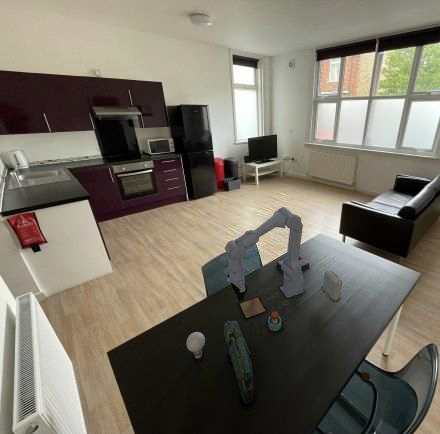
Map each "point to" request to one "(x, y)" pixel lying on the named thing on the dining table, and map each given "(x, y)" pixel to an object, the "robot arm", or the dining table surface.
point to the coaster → (252, 307)
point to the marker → (274, 318)
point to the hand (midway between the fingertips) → (238, 294)
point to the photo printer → (332, 284)
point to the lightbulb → (196, 343)
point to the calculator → (302, 262)
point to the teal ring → (274, 327)
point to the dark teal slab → (240, 359)
